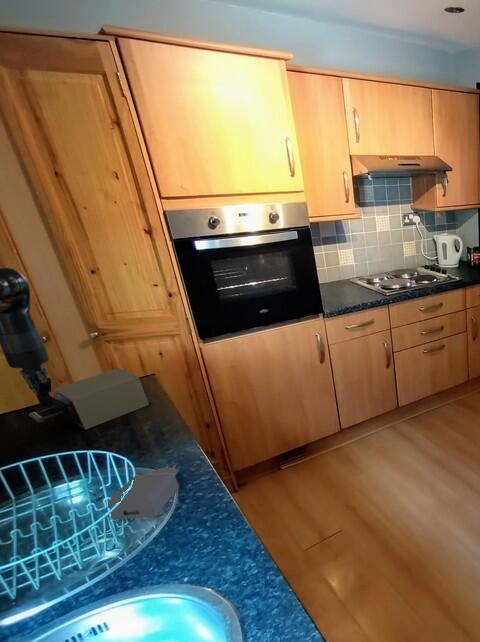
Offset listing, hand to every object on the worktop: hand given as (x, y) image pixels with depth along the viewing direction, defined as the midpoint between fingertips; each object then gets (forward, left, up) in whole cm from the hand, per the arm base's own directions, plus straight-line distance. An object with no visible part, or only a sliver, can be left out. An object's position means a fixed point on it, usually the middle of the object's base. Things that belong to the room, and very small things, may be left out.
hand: (46, 404), depth 124 cm
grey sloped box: (+12, 0, -8) cm, 14 cm away
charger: (0, -53, -8) cm, 54 cm away
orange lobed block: (+5, 0, -2) cm, 5 cm away
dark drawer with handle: (+6, 0, -7) cm, 9 cm away
